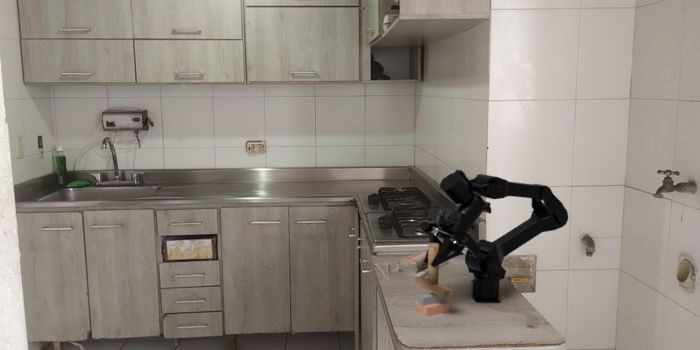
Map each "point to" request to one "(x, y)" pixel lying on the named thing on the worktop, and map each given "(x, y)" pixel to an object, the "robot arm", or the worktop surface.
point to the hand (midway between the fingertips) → (428, 264)
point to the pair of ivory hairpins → (381, 270)
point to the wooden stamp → (433, 275)
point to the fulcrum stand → (431, 304)
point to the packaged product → (414, 265)
